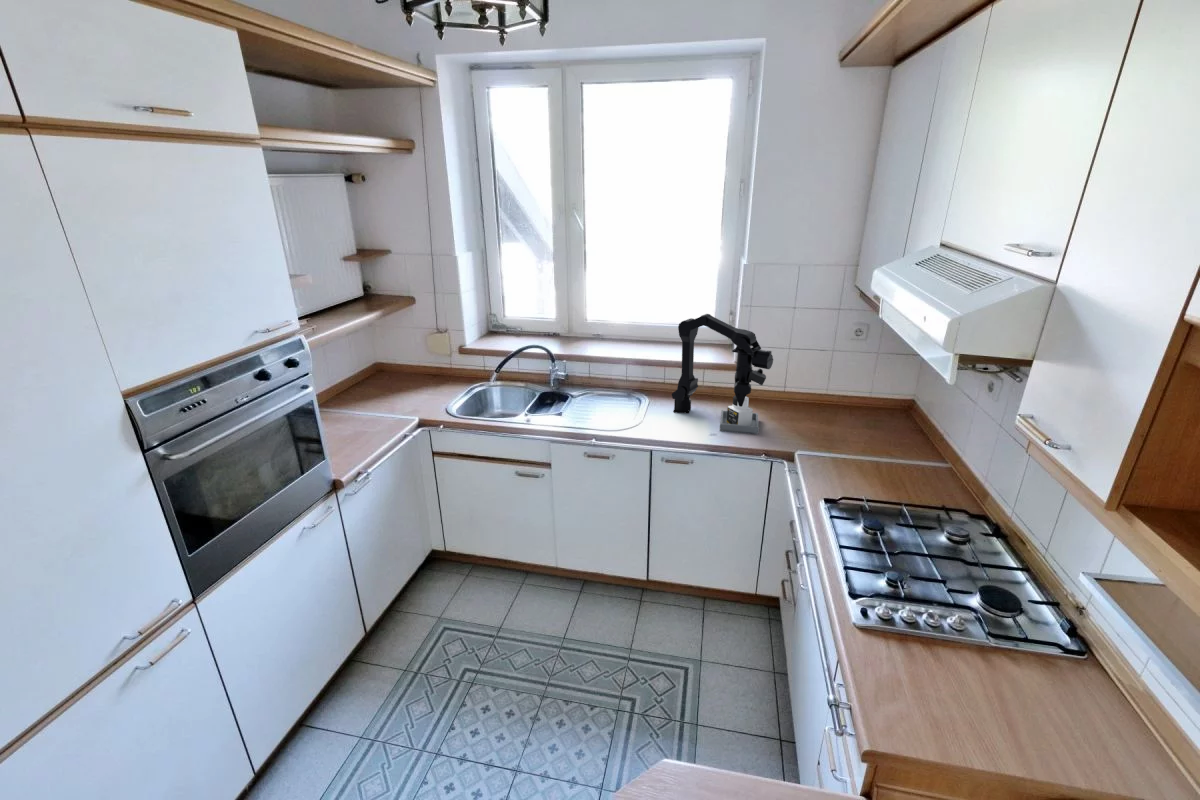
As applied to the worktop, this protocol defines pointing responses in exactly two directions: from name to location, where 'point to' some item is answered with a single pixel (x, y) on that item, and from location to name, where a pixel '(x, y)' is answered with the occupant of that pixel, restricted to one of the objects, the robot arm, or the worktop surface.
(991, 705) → the worktop surface
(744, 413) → the medicine bottle
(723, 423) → the bin
